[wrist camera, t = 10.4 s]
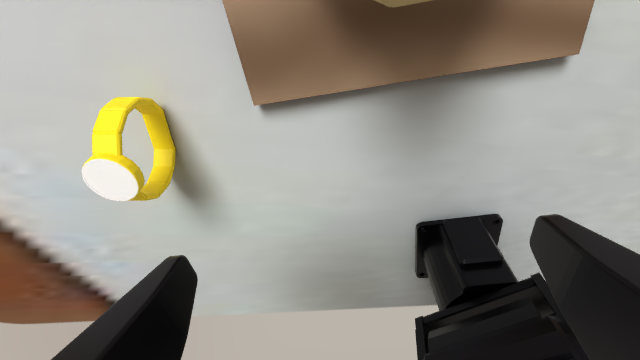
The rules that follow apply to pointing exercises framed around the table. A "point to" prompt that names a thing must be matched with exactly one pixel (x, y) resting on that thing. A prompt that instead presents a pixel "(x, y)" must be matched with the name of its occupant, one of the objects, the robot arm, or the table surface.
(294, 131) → the table surface
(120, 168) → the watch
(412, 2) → the socket collar
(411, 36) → the socket base
